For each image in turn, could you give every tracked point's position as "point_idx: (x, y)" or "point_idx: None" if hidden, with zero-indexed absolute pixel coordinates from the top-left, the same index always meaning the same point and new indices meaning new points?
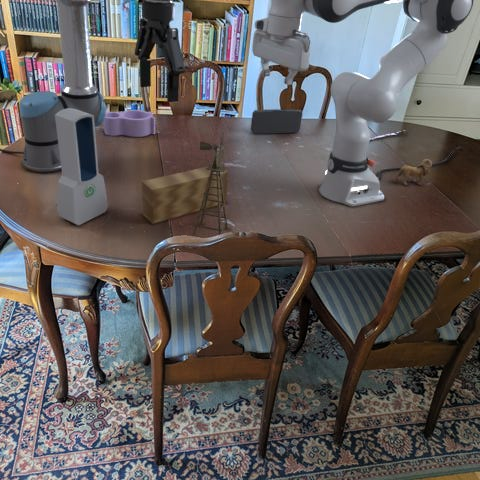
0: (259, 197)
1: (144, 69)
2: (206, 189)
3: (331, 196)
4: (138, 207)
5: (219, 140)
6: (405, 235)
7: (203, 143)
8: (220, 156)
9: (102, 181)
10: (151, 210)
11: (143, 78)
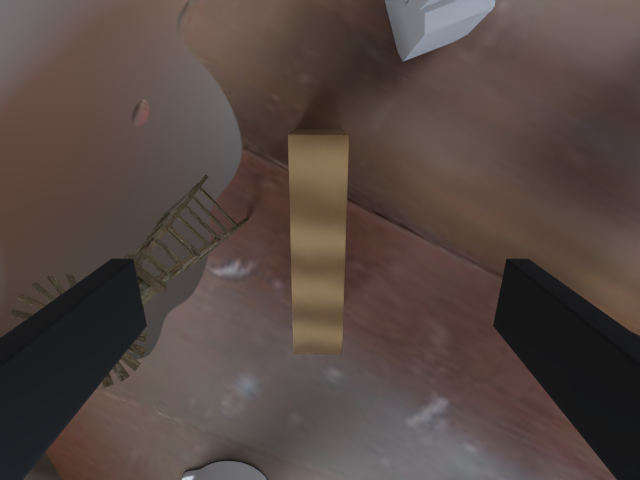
0: (287, 372)
1: (593, 369)
2: (158, 234)
3: (216, 469)
4: (377, 137)
5: None
6: (76, 475)
7: None
8: None
9: (418, 32)
10: (297, 130)
11: (540, 306)
